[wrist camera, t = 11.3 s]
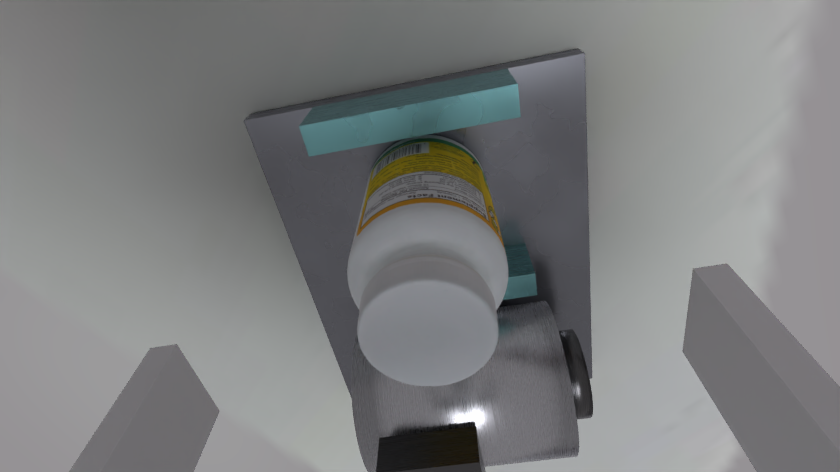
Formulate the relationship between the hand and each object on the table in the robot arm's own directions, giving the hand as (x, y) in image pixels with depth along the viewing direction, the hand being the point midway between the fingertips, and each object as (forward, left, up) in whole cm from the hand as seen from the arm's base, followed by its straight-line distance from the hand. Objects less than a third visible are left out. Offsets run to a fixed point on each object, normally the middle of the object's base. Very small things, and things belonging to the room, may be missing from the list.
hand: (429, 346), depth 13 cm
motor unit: (+5, 0, -11) cm, 12 cm away
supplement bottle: (0, 0, -11) cm, 11 cm away
